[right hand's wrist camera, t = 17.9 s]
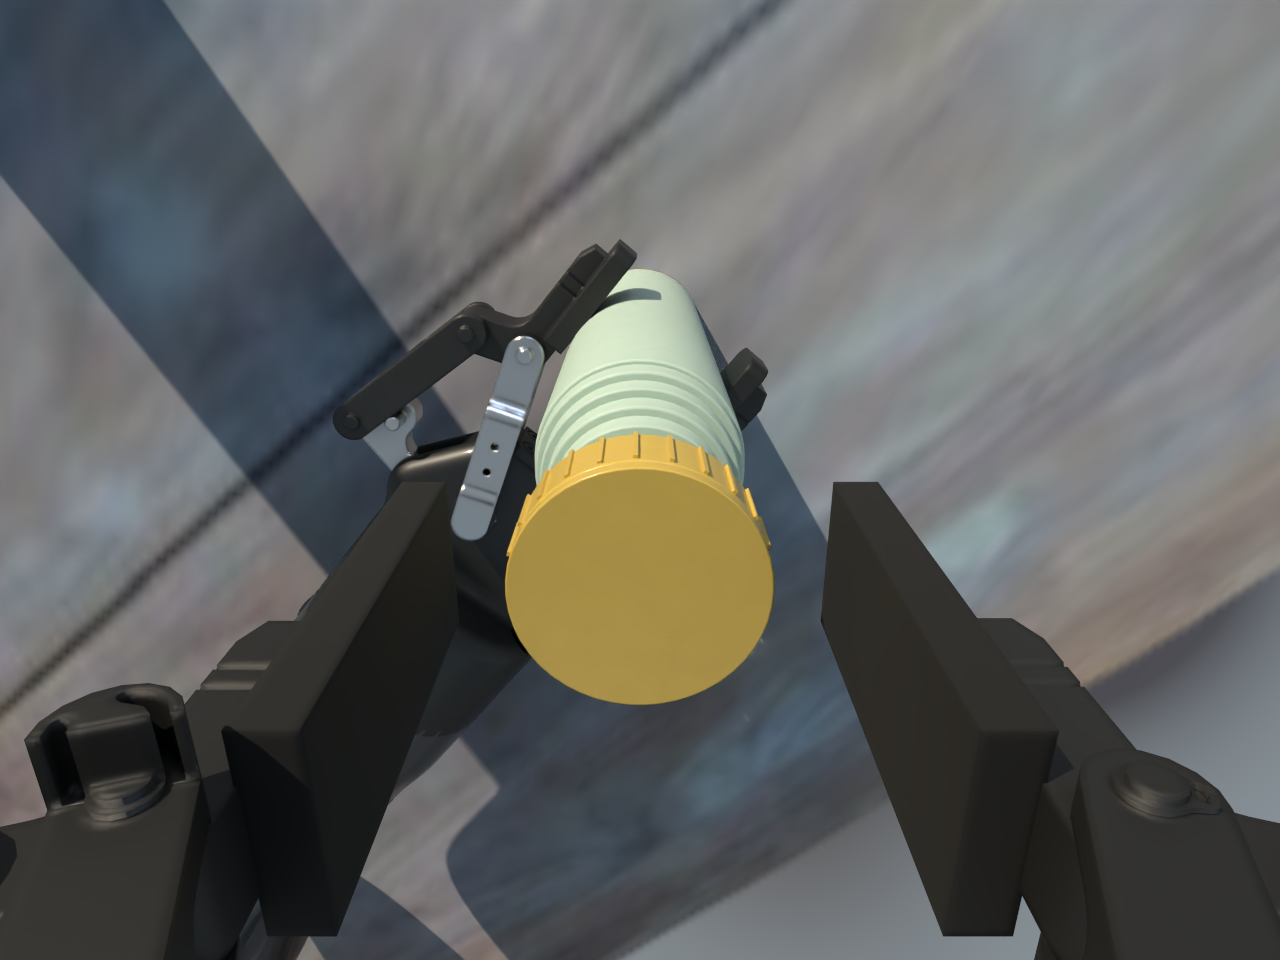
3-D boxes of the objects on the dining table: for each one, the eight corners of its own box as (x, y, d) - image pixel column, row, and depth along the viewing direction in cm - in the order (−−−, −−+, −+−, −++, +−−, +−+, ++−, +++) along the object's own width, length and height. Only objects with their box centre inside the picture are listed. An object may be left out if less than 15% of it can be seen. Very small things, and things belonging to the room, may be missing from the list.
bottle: (674, 404, 34) (720, 728, 15) (564, 365, 34) (461, 651, 14) (717, 293, 33) (831, 495, 13) (602, 251, 32) (544, 398, 13)
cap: (491, 451, 14) (473, 487, 13) (748, 412, 14) (762, 444, 12) (543, 667, 16) (533, 723, 14) (775, 635, 15) (790, 689, 14)
